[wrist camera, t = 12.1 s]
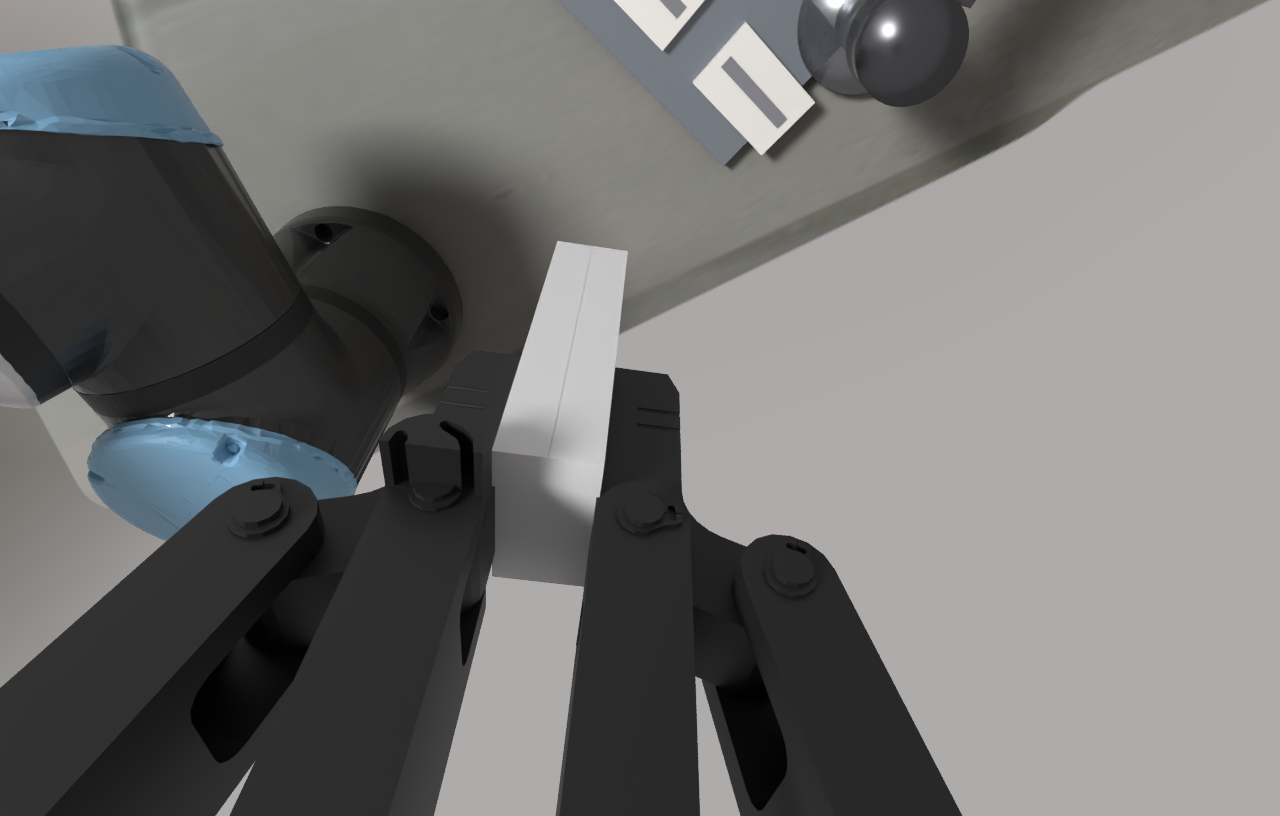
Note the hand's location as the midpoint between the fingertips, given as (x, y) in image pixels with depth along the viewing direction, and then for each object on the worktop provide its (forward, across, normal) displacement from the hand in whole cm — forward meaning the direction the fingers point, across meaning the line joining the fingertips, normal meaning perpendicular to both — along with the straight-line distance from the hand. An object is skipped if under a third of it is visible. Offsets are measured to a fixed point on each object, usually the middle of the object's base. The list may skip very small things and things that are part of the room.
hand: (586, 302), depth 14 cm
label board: (+32, +3, +2) cm, 33 cm away
